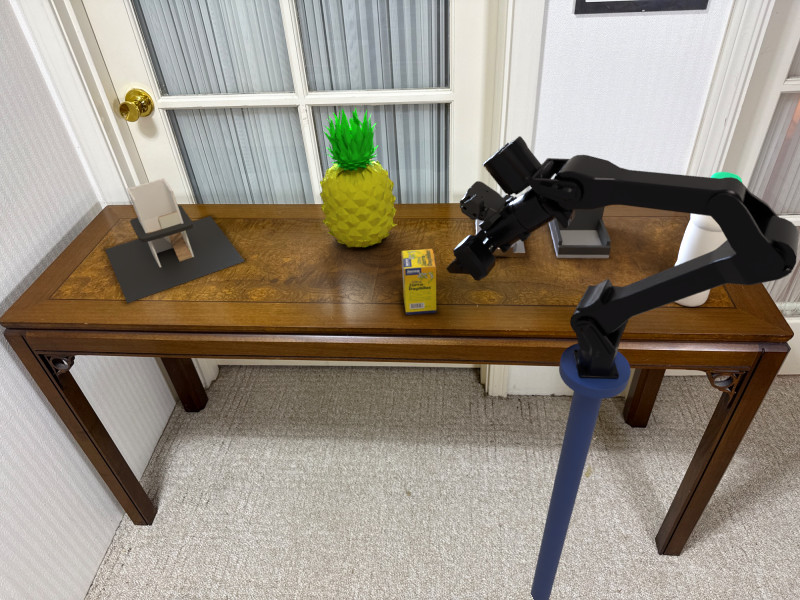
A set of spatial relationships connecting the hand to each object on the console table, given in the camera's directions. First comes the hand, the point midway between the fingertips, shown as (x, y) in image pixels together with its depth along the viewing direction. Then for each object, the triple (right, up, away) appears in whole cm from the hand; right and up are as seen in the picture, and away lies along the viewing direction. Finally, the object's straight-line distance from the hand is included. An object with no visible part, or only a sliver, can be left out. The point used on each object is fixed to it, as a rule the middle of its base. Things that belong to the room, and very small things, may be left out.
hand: (460, 256), depth 98 cm
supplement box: (-7, -9, +12) cm, 16 cm away
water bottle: (+44, -7, +10) cm, 46 cm away
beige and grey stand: (-62, +2, +30) cm, 68 cm away
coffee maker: (+29, +6, +26) cm, 39 cm away
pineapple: (-19, +6, +31) cm, 37 cm away
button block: (+12, +7, +30) cm, 33 cm away
